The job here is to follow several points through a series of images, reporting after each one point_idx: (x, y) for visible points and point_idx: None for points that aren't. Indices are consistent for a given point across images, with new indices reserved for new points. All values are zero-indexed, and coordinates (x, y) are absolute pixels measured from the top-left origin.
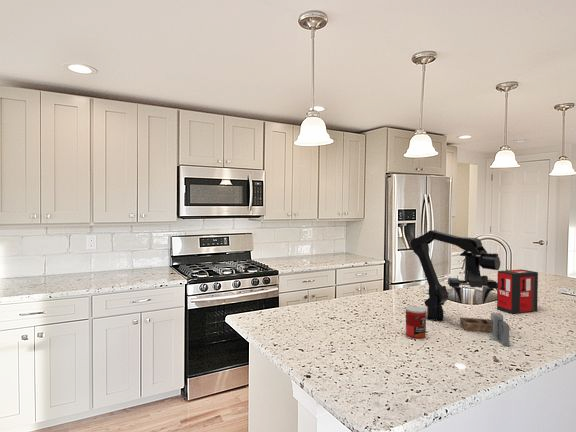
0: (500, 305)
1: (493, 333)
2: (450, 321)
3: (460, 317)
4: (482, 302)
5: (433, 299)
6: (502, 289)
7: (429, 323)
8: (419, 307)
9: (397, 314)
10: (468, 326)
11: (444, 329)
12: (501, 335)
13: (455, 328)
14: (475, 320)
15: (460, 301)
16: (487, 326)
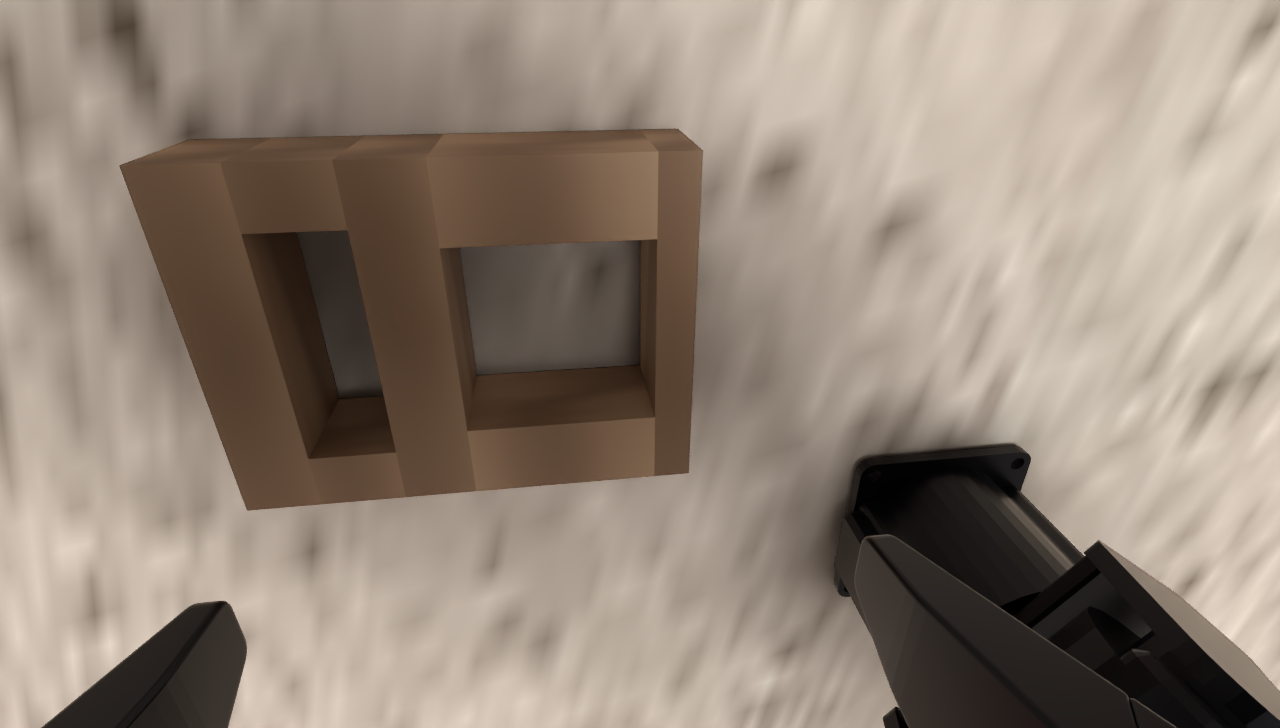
0: None
1: None
2: (764, 478)
3: (685, 468)
4: (239, 663)
5: (1240, 670)
6: None
7: (1063, 323)
8: None
9: (1265, 531)
10: (633, 145)
11: (970, 101)
12: None
13: (788, 201)
14: (475, 424)
15: (890, 544)
16: (299, 157)
